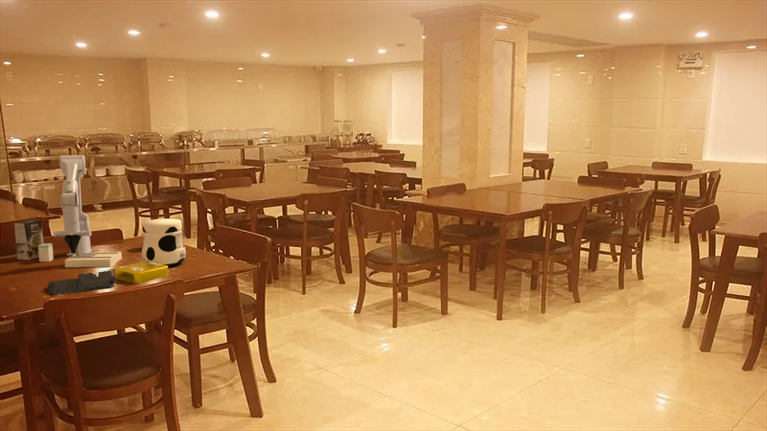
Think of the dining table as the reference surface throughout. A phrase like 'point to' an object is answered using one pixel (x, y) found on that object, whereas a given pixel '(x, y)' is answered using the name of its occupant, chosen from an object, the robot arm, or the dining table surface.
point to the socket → (94, 260)
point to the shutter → (81, 253)
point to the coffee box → (28, 239)
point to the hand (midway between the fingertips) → (74, 252)
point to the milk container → (163, 241)
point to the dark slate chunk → (82, 283)
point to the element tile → (141, 272)
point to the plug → (45, 252)
